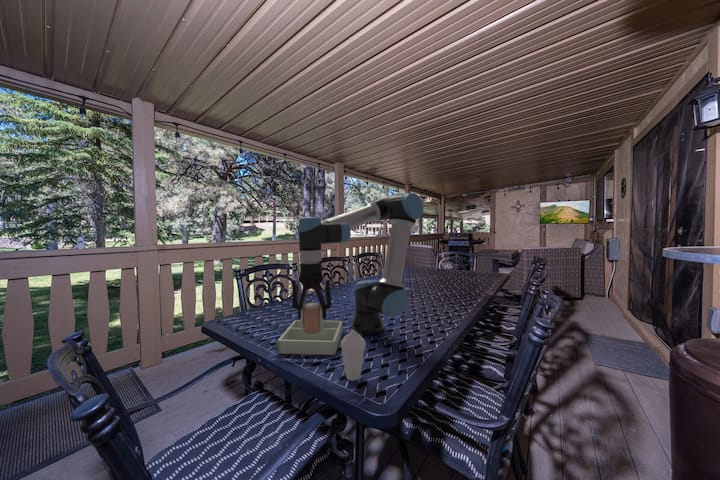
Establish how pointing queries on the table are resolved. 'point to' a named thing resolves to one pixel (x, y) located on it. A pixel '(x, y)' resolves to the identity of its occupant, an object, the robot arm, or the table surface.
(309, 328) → the jar
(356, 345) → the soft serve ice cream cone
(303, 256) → the robot arm
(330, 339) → the tray
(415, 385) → the table surface
